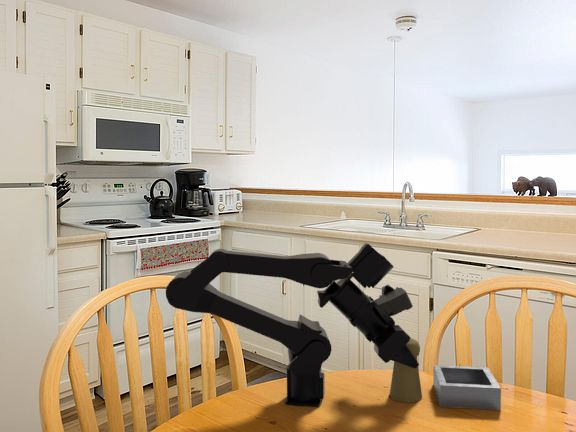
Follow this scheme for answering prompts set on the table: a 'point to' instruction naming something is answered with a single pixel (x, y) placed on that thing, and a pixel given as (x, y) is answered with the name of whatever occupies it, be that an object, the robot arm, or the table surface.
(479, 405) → the open gray box
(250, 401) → the table surface
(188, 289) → the robot arm
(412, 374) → the olive pawn
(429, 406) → the table surface
